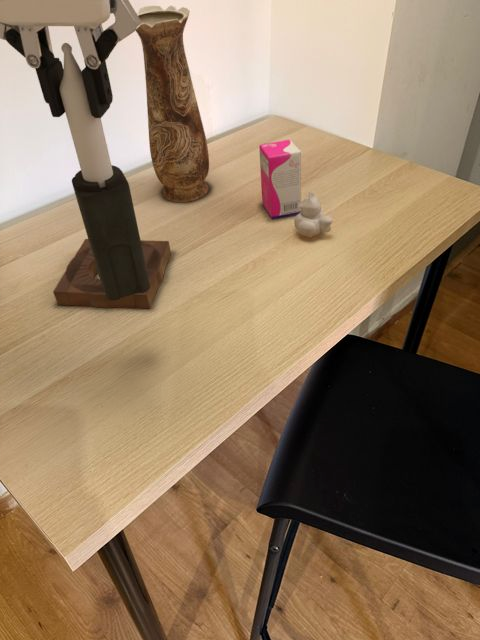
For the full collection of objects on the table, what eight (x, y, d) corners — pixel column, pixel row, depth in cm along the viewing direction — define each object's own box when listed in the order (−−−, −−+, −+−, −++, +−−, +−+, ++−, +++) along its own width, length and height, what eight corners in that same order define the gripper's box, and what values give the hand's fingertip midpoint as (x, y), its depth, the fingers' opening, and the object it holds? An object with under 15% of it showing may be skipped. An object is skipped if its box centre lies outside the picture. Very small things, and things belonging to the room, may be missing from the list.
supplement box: (290, 199, 99) (291, 138, 91) (301, 214, 95) (302, 152, 87) (261, 204, 98) (258, 143, 90) (270, 220, 94) (269, 157, 86)
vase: (217, 180, 105) (200, 3, 84) (204, 207, 98) (181, 20, 77) (167, 177, 107) (138, 3, 86) (150, 203, 99) (113, 20, 78)
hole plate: (55, 305, 78) (50, 292, 77) (88, 250, 89) (84, 237, 87) (151, 309, 77) (147, 296, 75) (172, 253, 87) (170, 240, 86)
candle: (108, 302, 59) (37, 55, 42) (99, 277, 62) (29, 39, 45) (152, 290, 61) (102, 46, 43) (141, 266, 64) (90, 31, 46)
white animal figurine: (301, 222, 93) (301, 179, 87) (336, 230, 91) (340, 186, 85) (288, 238, 89) (288, 194, 84) (325, 246, 87) (328, 202, 82)
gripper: (146, -177, 37) (180, 98, 50) (-74, -172, 38) (14, 95, 51) (113, -178, 32) (160, 131, 45) (-141, -171, 33) (-24, 126, 46)
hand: (81, 110), depth 48 cm, fingers closed on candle, 3 cm apart
